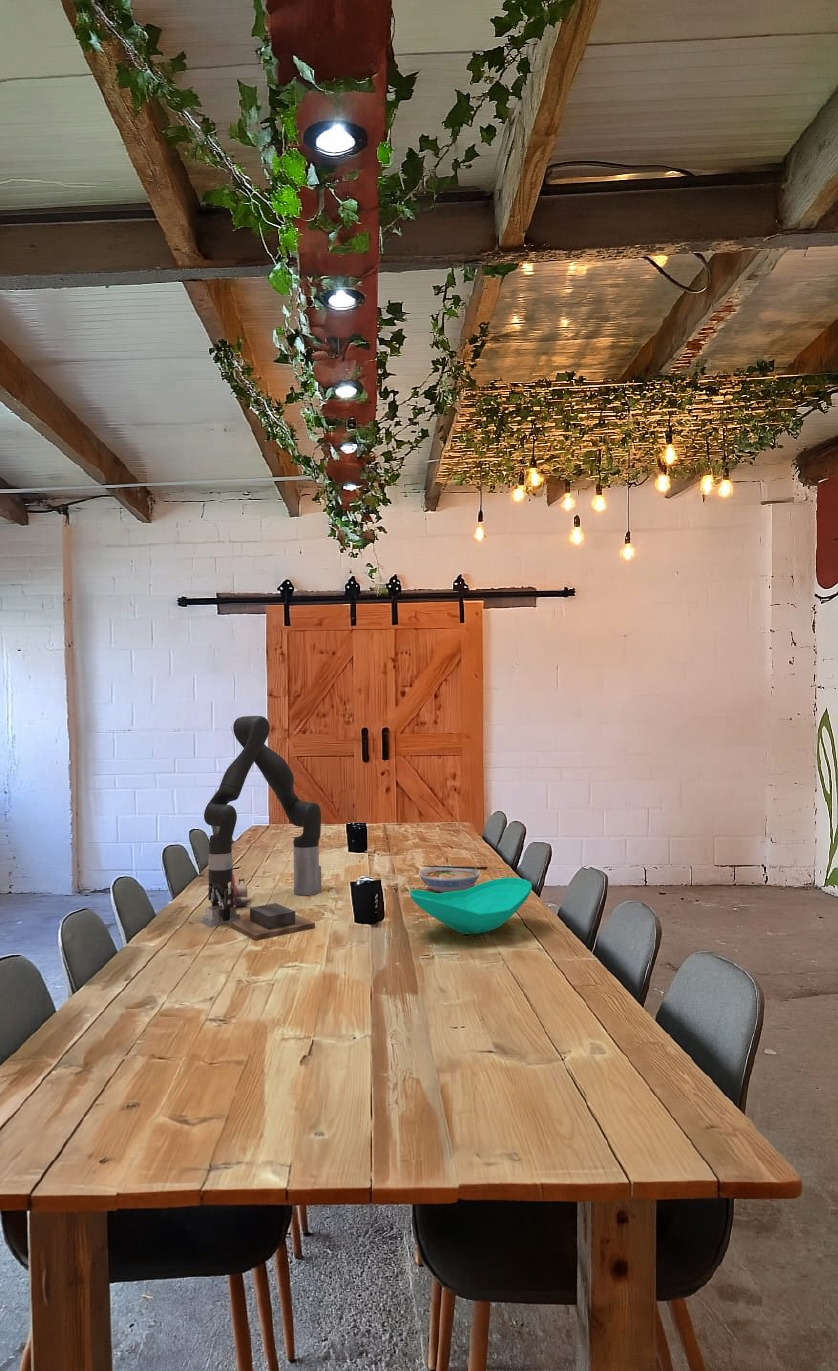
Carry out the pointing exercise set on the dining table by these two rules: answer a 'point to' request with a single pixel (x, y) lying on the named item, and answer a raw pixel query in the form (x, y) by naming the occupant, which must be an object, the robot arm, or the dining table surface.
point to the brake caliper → (239, 894)
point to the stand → (271, 922)
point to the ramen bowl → (450, 877)
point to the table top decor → (475, 904)
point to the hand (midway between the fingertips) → (220, 917)
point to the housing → (218, 916)
